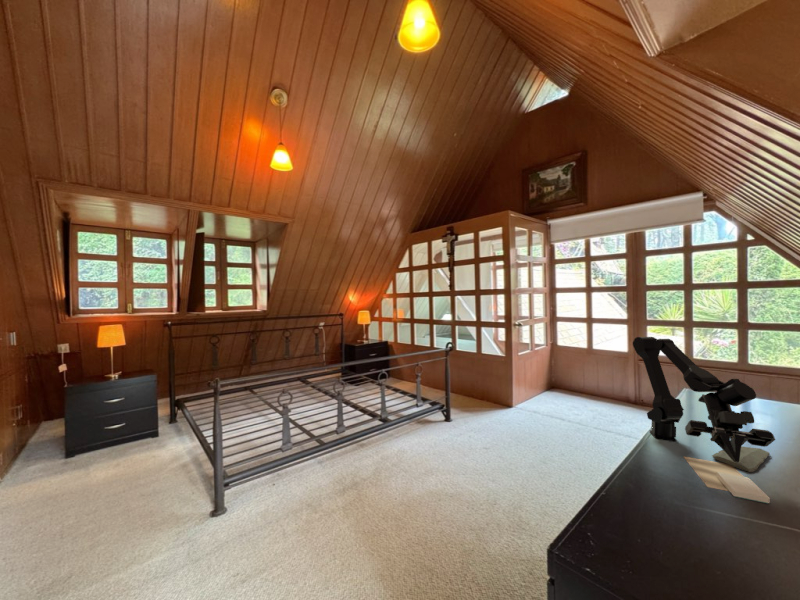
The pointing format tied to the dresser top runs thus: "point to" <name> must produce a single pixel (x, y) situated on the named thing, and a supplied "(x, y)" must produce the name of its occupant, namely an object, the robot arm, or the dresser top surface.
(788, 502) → the dresser top surface
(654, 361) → the robot arm
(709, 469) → the tan wooden board
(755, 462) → the stone slab
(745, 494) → the glazed tile
